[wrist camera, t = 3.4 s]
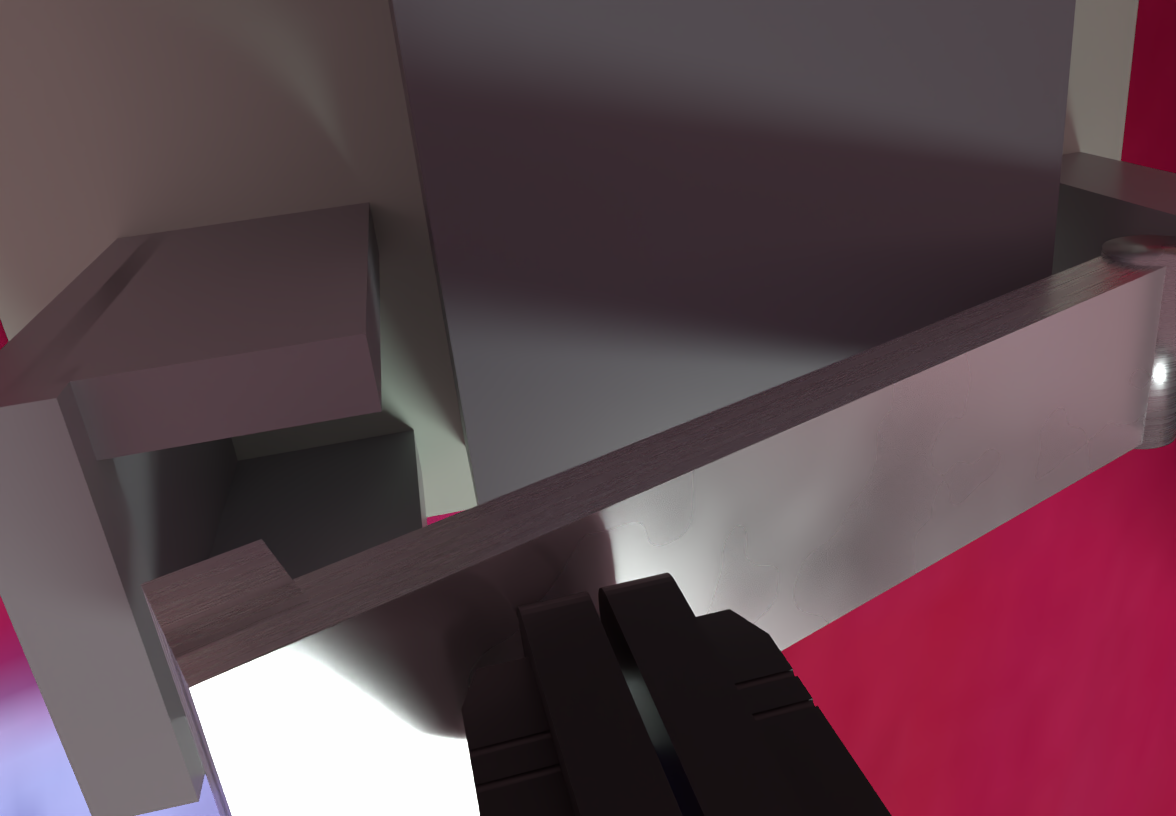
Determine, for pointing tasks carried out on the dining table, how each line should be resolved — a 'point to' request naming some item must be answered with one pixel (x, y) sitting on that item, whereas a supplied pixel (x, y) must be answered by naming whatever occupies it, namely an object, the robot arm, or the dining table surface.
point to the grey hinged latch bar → (668, 537)
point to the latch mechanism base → (470, 265)
